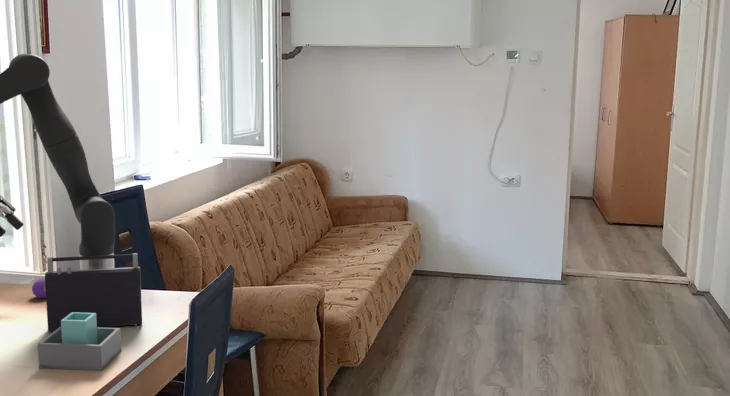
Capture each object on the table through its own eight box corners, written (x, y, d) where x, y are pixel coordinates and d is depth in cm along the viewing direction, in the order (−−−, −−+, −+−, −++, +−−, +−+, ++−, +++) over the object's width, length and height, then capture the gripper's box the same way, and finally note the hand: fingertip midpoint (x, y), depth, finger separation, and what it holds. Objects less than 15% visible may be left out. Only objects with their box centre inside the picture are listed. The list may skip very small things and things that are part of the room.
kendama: (102, 284, 225) (31, 284, 218) (101, 301, 227) (31, 301, 220) (103, 275, 230) (33, 275, 224) (102, 292, 232) (33, 292, 226)
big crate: (39, 368, 172) (37, 343, 171) (62, 348, 183) (60, 326, 182) (102, 370, 171) (101, 346, 170) (121, 350, 183) (120, 328, 182)
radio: (142, 319, 205) (139, 250, 202) (142, 326, 200) (139, 255, 197) (48, 326, 199) (44, 255, 195) (45, 333, 194) (41, 260, 190)
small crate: (63, 360, 174) (60, 320, 172) (74, 351, 180) (71, 312, 178) (87, 361, 174) (85, 321, 172) (98, 352, 180) (96, 313, 178)
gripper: (-44, 178, 175) (7, 227, 176) (-11, 170, 189) (35, 215, 190) (-64, 200, 176) (-14, 247, 178) (-30, 190, 190) (16, 234, 192)
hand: (12, 231), depth 184 cm, fingers open, 8 cm apart
